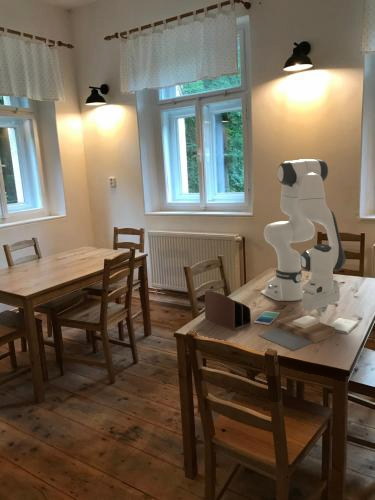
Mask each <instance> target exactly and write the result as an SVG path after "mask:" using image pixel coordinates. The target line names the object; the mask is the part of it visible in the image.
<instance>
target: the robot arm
mask: <svg viewBox="0 0 375 500" xmlns="http://www.w3.org/2000/svg"><path fill="white" fill-rule="evenodd" d="M328 174H329V167H328V164H327V163H326V162H325V160H322V159H308V158H305V159H298V160H297V159H296V160H286V161H283V162H281V163H280V164H279V166H278V167H277V179H278V181H279V182H280V184H281V189H280V190H281V191H280V203H279V208H280V211H281V212H282V213H283V214H285V215H286V216H289V220H284V221H275V222H272V223H268V224H267V225H266V226H265V227H264V229H263V238H264V239H265V241H266V242H267V243H268V244H269V245H271V246H272V247H273V249H274V250H275V252H276V255H277V269H275V270H274V273H275V276H273V277H272V278H271V279H269V280H267V282H266V285H265V289H262V290H261V291H260V292H261V295H264V296H266V297H268V298H270V299H273V300H275V301H278V302H279V301H286V302H294V301H300V300H301V304H302V308H303V310H304V311H307V312H312V311H315V310H316V312H317V317H324V316H326V314H327V313H326V311H327V309H328V307H329V305H331V304H333V303H337V302H339V301H340V299H341V295H340V294H341V292H340V290H341V289H340V286H339V282H338V281H337V280H336V279H334V273H333V272H339V271H340V270H342V269H343V268H344V266H345V265H346V261H347V260H346V255H345V252H344V249H343V246H342V241H341V236H340V232H339V227H338V224H337V219H336V216H335V213H334V212H333V211H332V210H330V209H329V207H328V204H327V201H326V190H325V186H324V181H326V180H327V177H328ZM313 222H314V223H317V224H320V225H322V226H323V227H324V228H325V231H326V236H327V240H328V244H324V243H318V244H314V245H313V247H312V248H310V249H305V250H304V251H303V252H302V253H301V254H300V253H299V252H298V251H297V250H295V249H293V248H292V247H291V244H293V243H294V244H295V243H304V242H306V241H309V240H312V239H313V238H314V236H315V234H316V227H315V225H314V223H313ZM302 269H303V270H304V271H306V272H311V276H310V279H309V280H308V281H307V282H306V283H305V284H304V285H303V283H302V277H303V276H302V275H303V272H302V271H303V270H302ZM274 273H273V274H274Z"/></svg>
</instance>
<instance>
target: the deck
mask: <svg viewBox="0 0 375 500" xmlns="http://www.w3.org/2000/svg"><path fill="white" fill-rule="evenodd" d="M302 317H304V316H303V315H300V314H297V313H294V314H291V315H288V316H286V317H283V318H280V319H277V320H275V328H280V329H283V330H285V331H288V332H290V333H293V334H295V335H298V336H300V337H303V338H305V339H308V340H310V341H313V343H314V344H317V343H319V342H321V341H323V340H326V339H328V338H330V337H332V336H335V335H336V332H335V327H332V326H330V325H328V324H327V323H324V322H320V321H319V323H318V324H315V325H313V326H310V327H308V328H305V329H304V328H302V327H299V326H296V325H294V324H293V321H294V320H296V319H299V318H302ZM313 343H312V344H313Z"/></svg>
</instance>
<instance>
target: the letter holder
mask: <svg viewBox="0 0 375 500" xmlns="http://www.w3.org/2000/svg"><path fill="white" fill-rule="evenodd" d="M251 314H252V313H251V308H250V307H249V306H247V305H246V304H244V303H242V302H239V301H237V300H234V299H232V298H230V297H229V296H227V295H224V294H222V293H219V292H217V291H211V290H205V291H204V318H205V319H206V318H207V320H209V321H212V322H213V323H216V324H218V325H220V326H222V327H224V328H227V329H229V330H231V331H233V332H235V331H238V330H241V329H243V328H246V327H248V326H251V325H252V318H251V317H252V316H251Z"/></svg>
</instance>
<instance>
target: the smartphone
mask: <svg viewBox="0 0 375 500" xmlns="http://www.w3.org/2000/svg"><path fill="white" fill-rule="evenodd" d="M280 315H281V313H280V312H278V311H277V312H276V311H272V310H271V311H269V310H264V311H263V312H262V313H261V314H260V315H259V316H258V317H257V318H256V319H255V320H254V321H253V323H254V324H258V325H265V326H270V325H271V324H273V323H274V322H275V321H276V319H277V318H278V317H279V316H280Z"/></svg>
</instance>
